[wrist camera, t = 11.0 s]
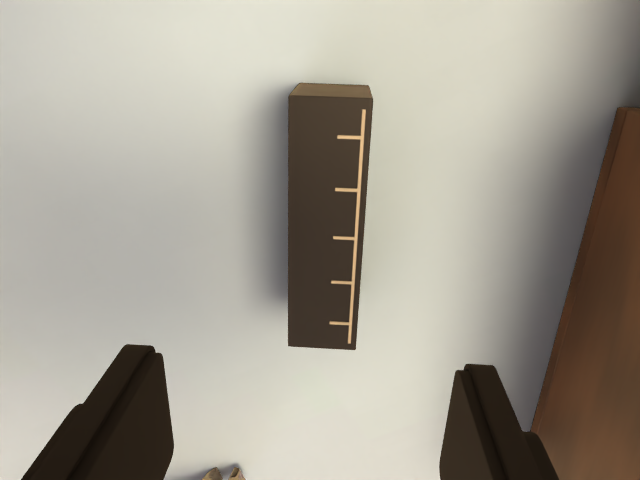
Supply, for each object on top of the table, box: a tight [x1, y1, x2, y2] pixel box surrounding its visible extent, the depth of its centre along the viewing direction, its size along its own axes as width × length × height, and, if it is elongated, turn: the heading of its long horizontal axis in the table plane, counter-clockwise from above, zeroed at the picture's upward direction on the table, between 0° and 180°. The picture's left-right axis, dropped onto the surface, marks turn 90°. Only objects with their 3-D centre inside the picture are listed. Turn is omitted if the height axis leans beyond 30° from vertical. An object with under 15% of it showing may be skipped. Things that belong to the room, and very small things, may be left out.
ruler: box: [288, 83, 373, 350], centre depth 21 cm, size 11×3×4 cm, turn 178°
